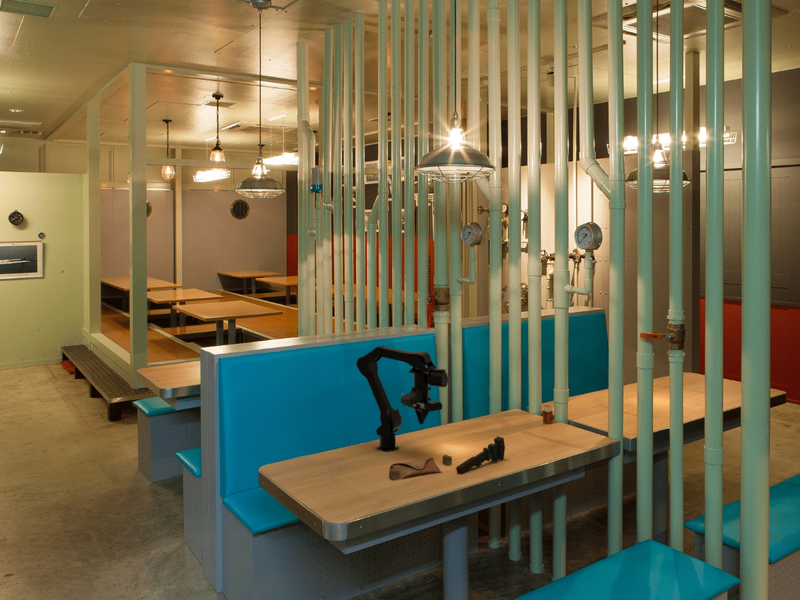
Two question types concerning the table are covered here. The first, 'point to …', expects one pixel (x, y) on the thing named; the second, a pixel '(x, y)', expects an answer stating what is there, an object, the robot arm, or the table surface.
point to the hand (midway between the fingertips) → (421, 424)
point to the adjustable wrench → (484, 456)
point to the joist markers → (395, 473)
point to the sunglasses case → (416, 468)
